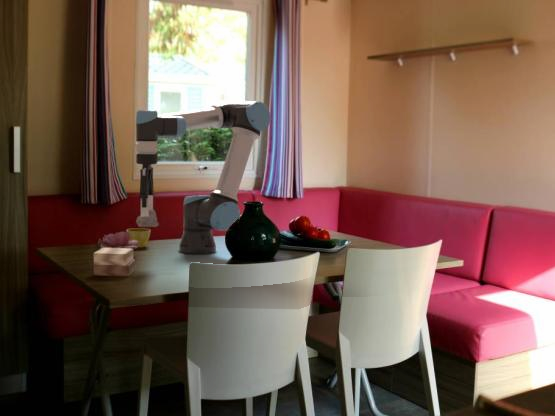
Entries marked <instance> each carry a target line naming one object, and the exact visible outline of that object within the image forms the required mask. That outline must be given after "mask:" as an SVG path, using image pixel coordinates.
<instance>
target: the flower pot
mask: <svg viewBox="0 0 555 416" xmlns="http://www.w3.org/2000/svg"><path fill="white" fill-rule="evenodd" d="M125 232H130V236H131V237H130V240H129V241H132V240H138V243H137V244H136V245H135V246H138V248H144V247H146V246H147V243H148V241H149V239H150V236H151V232H152V231H151V229H150V228H146V227H142V228H141V227H139V228H138V227H137V228H127V229H126V231H125ZM138 248H137V249H138Z"/></svg>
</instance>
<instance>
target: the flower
mask: <svg viewBox="0 0 555 416" xmlns="http://www.w3.org/2000/svg"><path fill="white" fill-rule="evenodd" d="M130 237H131V236H130V232H126V231H119V232H115V234H114V233H109V234H104V236H103V238H102V239H101V238H99V239H98V240H97V245H98V246H99V247H100V248H99V249H101V248H132V249H133V252H134V251H135V250H136V249H138V246H135V245H136V244H137V243H138V240H132V241H129V240H130Z"/></svg>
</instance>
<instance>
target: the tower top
mask: <svg viewBox="0 0 555 416" xmlns="http://www.w3.org/2000/svg"><path fill="white" fill-rule="evenodd" d="M133 259H134V251H133V249H132V248H99V249H98V250H96V251H95V252H93V266H94V265H122V266H126V265H127V264H128V263H130V262H131V261H132V260H133Z"/></svg>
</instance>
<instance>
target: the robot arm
mask: <svg viewBox="0 0 555 416" xmlns="http://www.w3.org/2000/svg"><path fill="white" fill-rule="evenodd" d="M135 117H136V118H135V130H136V131H135V133H136V134H135V135H136V136H135V139H136V143H134V146H135V147H136V148H135V149H136V150H135V151H136V154H135V156H136V157H135V159H136V161H135V162H136V164H138V165H142V168H141V169H140V170H139V172H140V180H139V181H140V185H139V195H138V199H140V215H141V217H149V210H153V209H154V196H155V195H156V192H154V190H155V189H154V188H155V187H154V167H153V166H152V165H157V164H158V149H159V148H158V142H159V141H158V137H170V138H171V137H172V138H173V137H175V138H176V137H182V136H184V135H185V134H186V131H192V130H200V129H207V128H214V129H217V130H218V129H231V130H232V132H233V136H232V139H231V142H230V146H229V148H228V152H227V154H226V157H225V160H224V163H223V167H222V169H221V172H220V176H219V179H218V182H217V183H216V184H217V186H216V189H215V190H213V191H211V192H210V194H202V195H188V196H185V197H184V200H183V233H182V235H181V238H180V242H179V245H178V252H180V253H184V254H191V255H192V254H193V255H203V254H213V253H215V252H217V245H216V242H215V237H214V235H213V230H215V231H219V232H221V231H224V232H225V231H226V232H228V231H229V230H228V229H229V227H230V226H231V225H232V224H233V223H234V221H236V220H237V219H238V218H239V217H240V218H241V211H240V207H239V205H238V204H239V200H238V196H237V195H238V191H239V189H240V186H241V184H242V180H243V177H244V173H245V170H246V167H247V164H248V161H249V158H250V155H251V152H252V148H253V145H254V142H255V141H256V140H258V139H259V138H260V136H261V133H262V131H265V130H266V129H268V127H269V126H270V124H271V120H272V118H271V112H270V110H269V107H268V106H267V104H265V103H264V102H262V101H259V100H257V101H256V100H248V101H247V100H235V101H230V102H226V103H219V104H214V105H211V107H209V108H201V109H195V110H186V111H185V110H183V111H178V112H177V111H176V112H170V113H168V112H167V113H161V114H158V111H157V110H154V109H150V110H149V109H139V110H138V111H136V115H135ZM240 218H239V219H240Z"/></svg>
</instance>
